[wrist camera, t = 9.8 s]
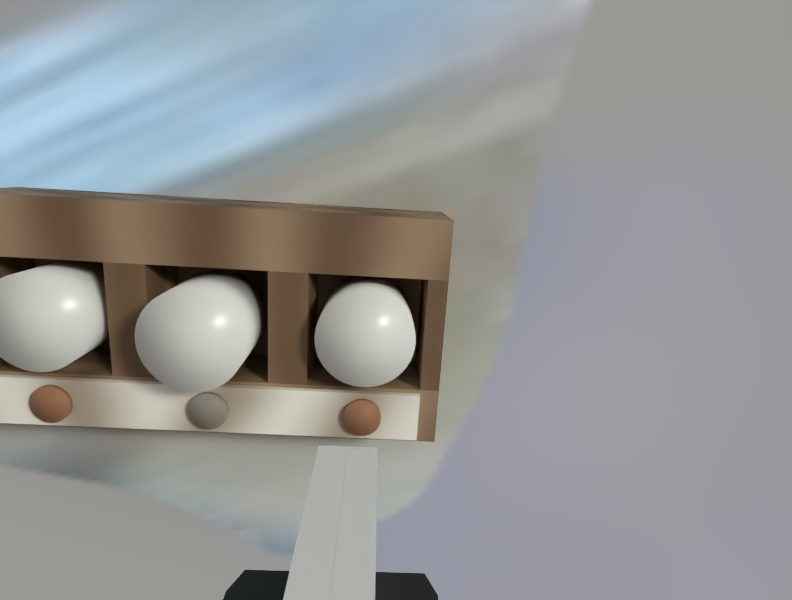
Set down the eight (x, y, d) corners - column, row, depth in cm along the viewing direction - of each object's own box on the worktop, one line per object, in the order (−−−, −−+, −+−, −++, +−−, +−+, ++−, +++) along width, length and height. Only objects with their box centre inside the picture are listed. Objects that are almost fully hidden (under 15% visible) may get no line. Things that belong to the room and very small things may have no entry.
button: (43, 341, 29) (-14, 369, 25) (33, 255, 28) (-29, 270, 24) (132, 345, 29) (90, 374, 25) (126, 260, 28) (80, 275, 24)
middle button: (175, 356, 28) (138, 389, 24) (170, 267, 27) (130, 286, 22) (266, 361, 28) (245, 394, 24) (265, 273, 27) (244, 292, 23)
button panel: (43, 383, 31) (-28, 428, 26) (19, 187, 28) (-66, 191, 23) (426, 400, 32) (435, 447, 27) (442, 212, 29) (455, 221, 24)
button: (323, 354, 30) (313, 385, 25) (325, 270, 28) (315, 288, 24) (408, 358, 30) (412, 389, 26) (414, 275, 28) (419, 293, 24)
